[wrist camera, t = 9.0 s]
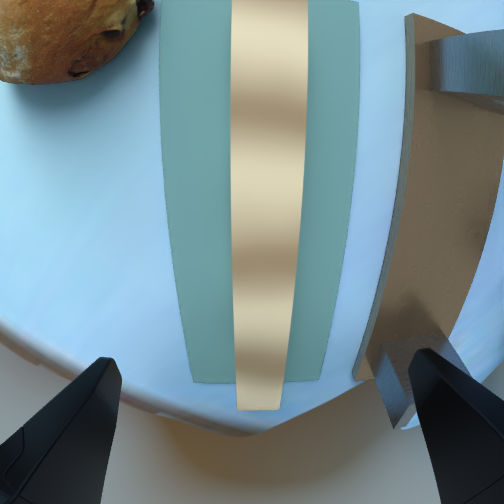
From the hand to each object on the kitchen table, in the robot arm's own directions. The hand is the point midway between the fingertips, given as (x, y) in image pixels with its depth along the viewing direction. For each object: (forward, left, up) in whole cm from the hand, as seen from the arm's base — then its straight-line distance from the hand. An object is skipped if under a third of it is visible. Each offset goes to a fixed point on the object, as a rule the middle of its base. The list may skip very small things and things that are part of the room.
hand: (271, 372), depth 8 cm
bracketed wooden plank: (-12, 0, -10) cm, 16 cm away
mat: (0, 0, -10) cm, 10 cm away
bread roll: (+10, -14, -11) cm, 20 cm away
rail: (0, 0, -10) cm, 10 cm away
